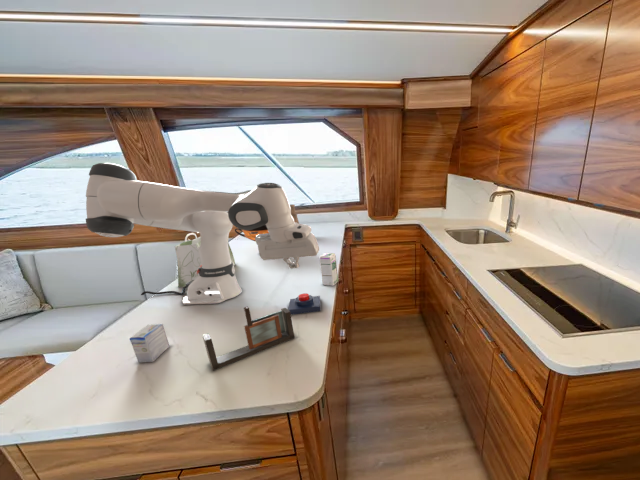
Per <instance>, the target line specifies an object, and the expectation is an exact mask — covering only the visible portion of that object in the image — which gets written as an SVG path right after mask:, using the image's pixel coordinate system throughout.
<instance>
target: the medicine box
mask: <svg viewBox="0 0 640 480" xmlns="http://www.w3.org/2000/svg"><path fill="white" fill-rule="evenodd" d="M129 341H130V344H131V346H132V349H133V352H134V356H135V357H136V360H137V362H138V363H153V362H155V360H157V359H158V358H159V357H160V356H161V355H162V354H163V353H165V351H166V350H168V349H169V348H170V343H169V339H168V336H167V331H166V330H165V325H164V324H163V323H151V324H150V323H149V324H147V325H146V326H144V327H143V328H141V329H140V330H139V331H137V332H136V333H134V334H133V335H132V336H130V337H129Z"/></svg>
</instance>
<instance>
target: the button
mask: <svg viewBox="0 0 640 480" xmlns="http://www.w3.org/2000/svg"><path fill="white" fill-rule="evenodd" d="M309 295H310V294H309V293H307V292H305V293H300V294H299V295H298V296H297V297H299V301H306V300H309Z"/></svg>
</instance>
